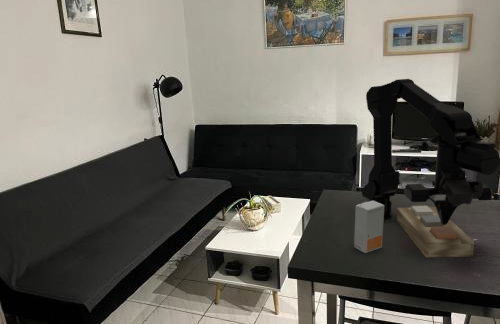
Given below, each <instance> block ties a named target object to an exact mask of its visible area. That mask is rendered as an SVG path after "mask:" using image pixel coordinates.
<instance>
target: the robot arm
mask: <svg viewBox="0 0 500 324" xmlns="http://www.w3.org/2000/svg"><path fill="white" fill-rule="evenodd" d="M365 94H366V95H365V98H366V105H367V110H368V112H369V113H370V115H371V117H372V118H373V119H372V120H373V121H372V122H373V125H372V126H373V127H372V129H373V166H372V168H371V170H370V171H369V174H368V182H367V183H366V184H365V185H364V186H363V187H362V188H361V190H360V191H361V195H362V197H363V198H365V199H366V202H369V201H375V202H378V203H380V204H383V205H384V219H391V218H392V216H391V214H392V201H391V197H395V195H396V193H397V190H398V189H399V186H400V185H401V182H400V176H401V175H400V174H401V173H400V171H399V170H396V169H395V168H394V166H393V162H392V161H393V158H392V157H393V156H392V155H393V154H392V153H393V149H392V146H393V145H392V142H393V141H392V135H393V134H392V116H393V114H394V113H395V111H396V109H397V106H398V100H399V99H403V101H405V102H406V103H407V104H408V105H410V106H411V107H413V108H414V109H415V110H416V111H418V112H419V113H420V114H422V116H424V117H425V118H426V119H427V120H428V124H429V127H430V128H431V129H432V130H433V131H434V132H435V134H436V135H435V136H434V137H433V138H432V139H430V141H429V142H430V143H432V144H436V145H437V151H436V163H435V164H433V170H435V175H434V176H435V177H434V180H432V184H431V185H432V186H433V187H426V186H424V185H423V184H422V183H407V184H406V185H405V187H404V188H403V195H404V196H405V197H406V198H407V199H408V200H409V201H410V202H413V203H426V202H427V201H429V200H430V201H431V202H432V203H433V205H434V207H436V209H437V212H438V215H439V218H440V221H441V223H442V224H443V225H447V223H448V221H449V219H450V220H451V217H452V216H453V214H454V212H455V210H457V208H458V207H460V206H462V205H464V204H465V205H470V204H472V203H473V200H474V199H477V201H492V200H493V190H492V188H491V187H489V186H488V185H486V184H485V183H482V181H480V180H479V181H475V180H474V181H472V180H467V177H466V175H467V173H466V171H465V170H467V171H472V172H475V173H478V174H482V175H487V176H491V175H493V174H494V173H495V172H496V171H497V170H498V168H499V166H500V153H499V151H498V150H497V149H495V146H496V144H495V143H494V142H484V141H483V139H482V137H481V135H480V133H479V131H478V129H477V127H476V126H475V123H474V122H473V116H472V114H471V113H470V112H468V111H467V110H464V109H462V108H460V107H457V106H455V105H449V104H446V103H443V102H442V101H440V100H439V99H438V98H436V97H435V96H433V94H430V93H429V92H427V91H426V90H425V89H423V88H422V87H420V86H419V85H418V84H416V83H415V81H414V80H412V79H410V78H403V79H402V78H401V79H395V80H393V81H391V82H389V83H386V84H382V85H377V86H376V85H375V86H371V87H369V89H368V91H366V93H365Z"/></svg>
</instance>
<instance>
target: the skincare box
mask: <svg viewBox="0 0 500 324" xmlns="http://www.w3.org/2000/svg"><path fill="white" fill-rule="evenodd" d="M354 211H355V214H354V216H355V217H354V238H353V239H354V240H353V241H354V242H353V244H354V245H353V247H354V248H355V249H357V250H358V251H360V252H362V253H364V254H368V253H370V252H373V251H376V250H379V249H381V248H383V240H384V239H383V236H384V219H385V218H384V205H383V204H380V203H378V202H375V201H369V202H367V201H364V202H362V203H359V204H356V205H355V210H354Z"/></svg>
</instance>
